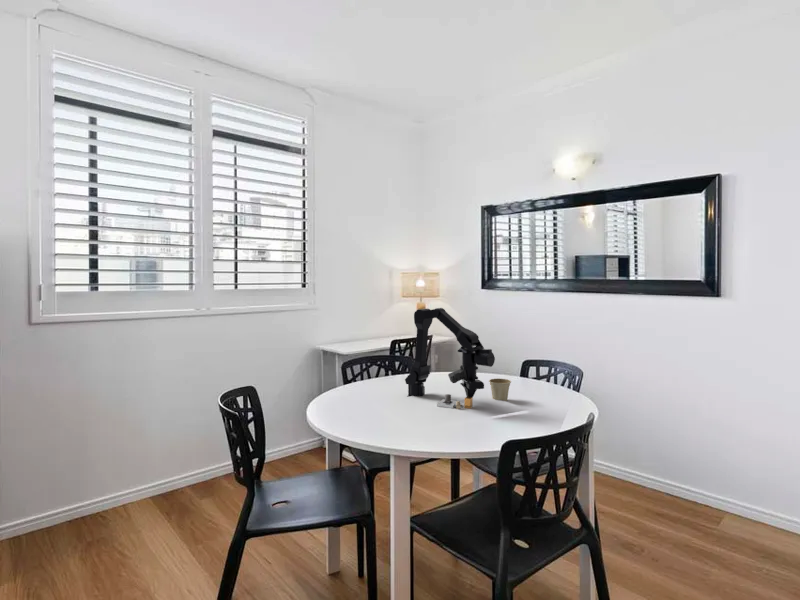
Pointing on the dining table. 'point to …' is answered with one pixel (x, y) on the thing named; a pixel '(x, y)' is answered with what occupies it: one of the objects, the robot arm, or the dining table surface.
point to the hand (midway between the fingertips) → (469, 401)
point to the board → (448, 400)
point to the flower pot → (500, 388)
